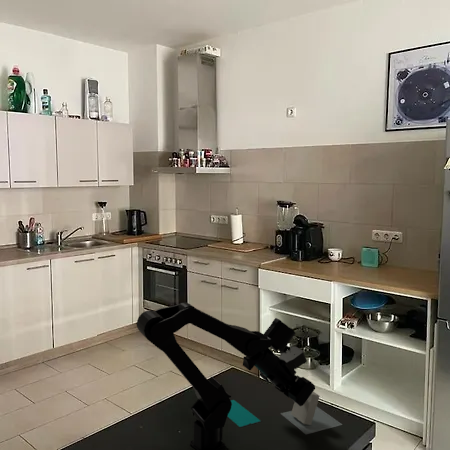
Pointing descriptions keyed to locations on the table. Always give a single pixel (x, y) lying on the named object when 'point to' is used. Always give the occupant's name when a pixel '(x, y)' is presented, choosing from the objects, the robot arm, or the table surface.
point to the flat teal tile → (241, 415)
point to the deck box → (306, 409)
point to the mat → (313, 421)
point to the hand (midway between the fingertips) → (303, 397)
